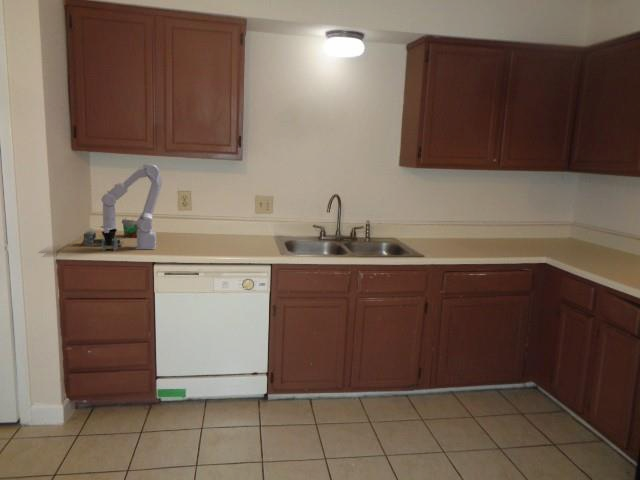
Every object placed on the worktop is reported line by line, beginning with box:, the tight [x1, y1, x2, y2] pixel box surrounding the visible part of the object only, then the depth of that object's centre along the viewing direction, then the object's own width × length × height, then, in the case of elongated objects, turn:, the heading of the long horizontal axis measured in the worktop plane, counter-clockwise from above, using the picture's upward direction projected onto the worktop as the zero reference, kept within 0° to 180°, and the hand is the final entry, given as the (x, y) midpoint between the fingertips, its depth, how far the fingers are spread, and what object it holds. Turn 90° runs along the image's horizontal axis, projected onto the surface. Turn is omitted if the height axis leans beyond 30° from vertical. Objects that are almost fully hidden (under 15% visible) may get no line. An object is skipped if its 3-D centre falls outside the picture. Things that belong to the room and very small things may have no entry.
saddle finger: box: [101, 237, 119, 252], centre depth 248 cm, size 4×6×6 cm
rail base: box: [79, 230, 125, 248], centre depth 258 cm, size 20×8×6 cm, turn 102°
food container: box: [121, 217, 138, 239], centre depth 280 cm, size 12×6×10 cm, turn 62°
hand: (109, 244), depth 248 cm, fingers closed on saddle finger, 4 cm apart
